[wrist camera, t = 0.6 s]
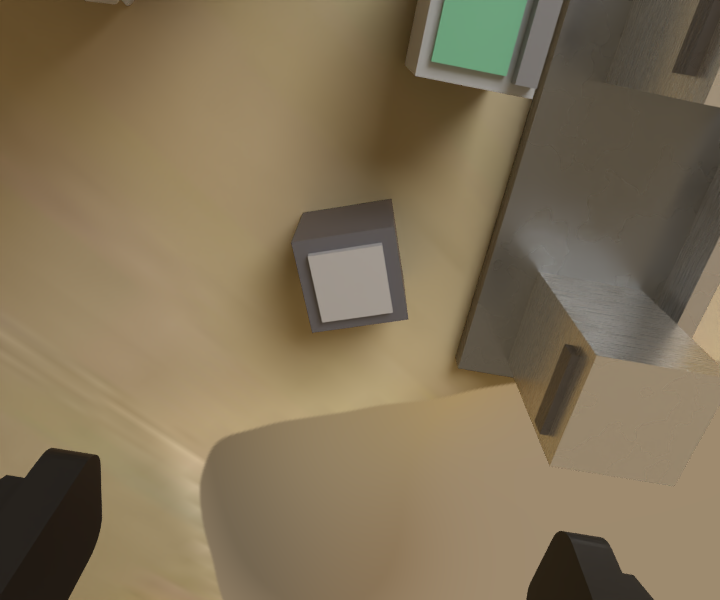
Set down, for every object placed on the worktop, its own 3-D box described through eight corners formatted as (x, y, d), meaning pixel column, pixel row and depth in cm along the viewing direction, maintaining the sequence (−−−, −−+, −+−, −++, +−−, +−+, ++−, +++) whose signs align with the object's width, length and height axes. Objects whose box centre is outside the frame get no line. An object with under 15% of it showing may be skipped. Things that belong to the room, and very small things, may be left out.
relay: (303, 212, 31) (289, 245, 27) (391, 198, 31) (394, 228, 26) (320, 292, 34) (311, 336, 29) (403, 280, 33) (408, 323, 28)
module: (432, -76, 25) (458, -125, 18) (528, -56, 26) (596, -95, 18) (404, 64, 28) (416, 77, 20) (492, 82, 28) (537, 101, 20)
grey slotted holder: (592, -98, 25) (719, -174, 16) (823, -46, 26) (1077, -91, 16) (455, 357, 35) (484, 473, 26) (623, 386, 36) (709, 509, 27)
